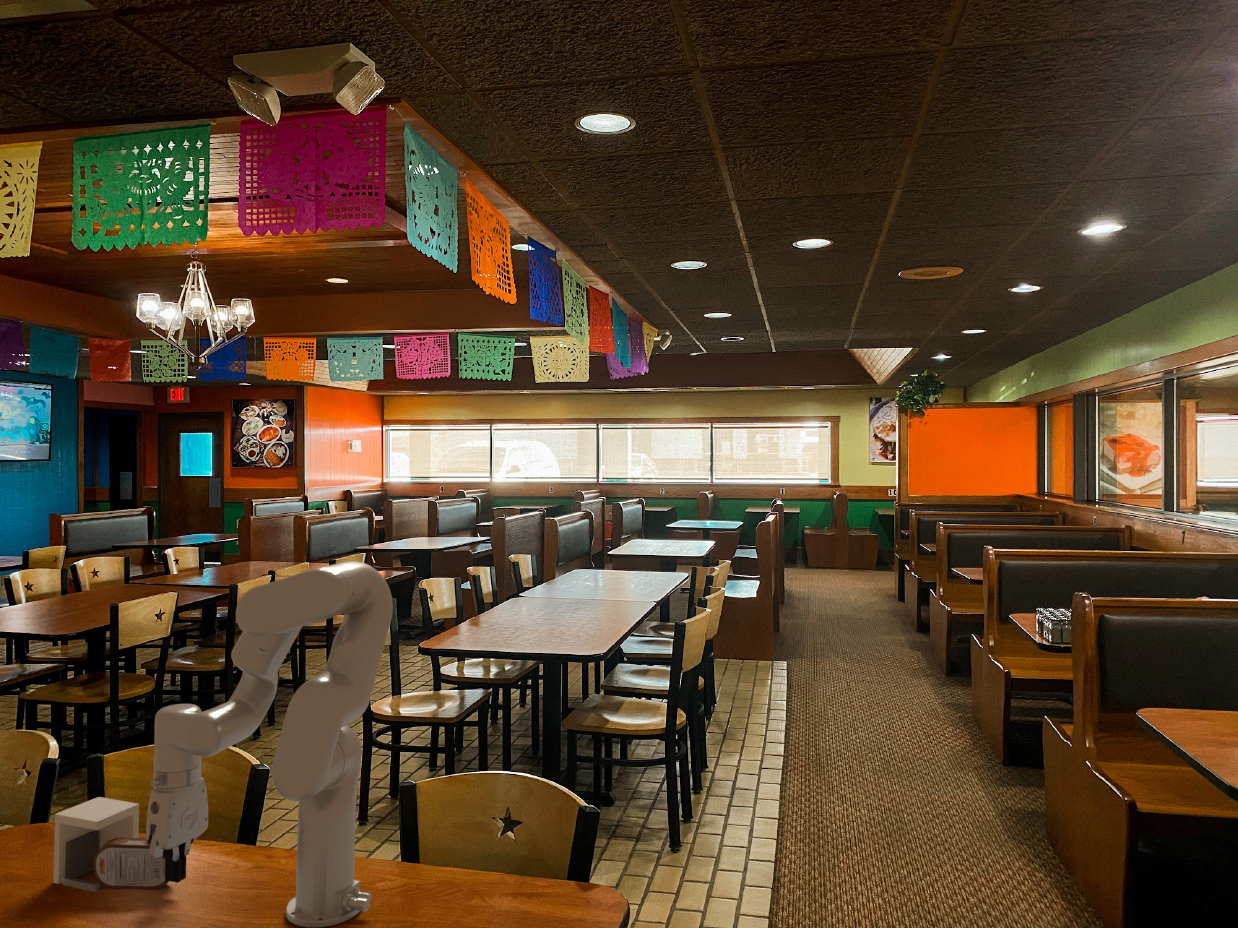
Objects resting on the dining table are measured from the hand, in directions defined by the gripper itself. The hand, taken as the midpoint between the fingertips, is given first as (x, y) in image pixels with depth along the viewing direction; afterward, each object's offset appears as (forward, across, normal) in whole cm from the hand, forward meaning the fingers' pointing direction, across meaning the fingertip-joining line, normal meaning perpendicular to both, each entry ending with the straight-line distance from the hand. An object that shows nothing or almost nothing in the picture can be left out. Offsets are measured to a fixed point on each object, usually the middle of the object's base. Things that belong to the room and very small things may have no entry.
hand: (175, 879), depth 154 cm
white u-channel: (+3, 0, +19) cm, 19 cm away
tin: (+3, 0, +9) cm, 9 cm away
